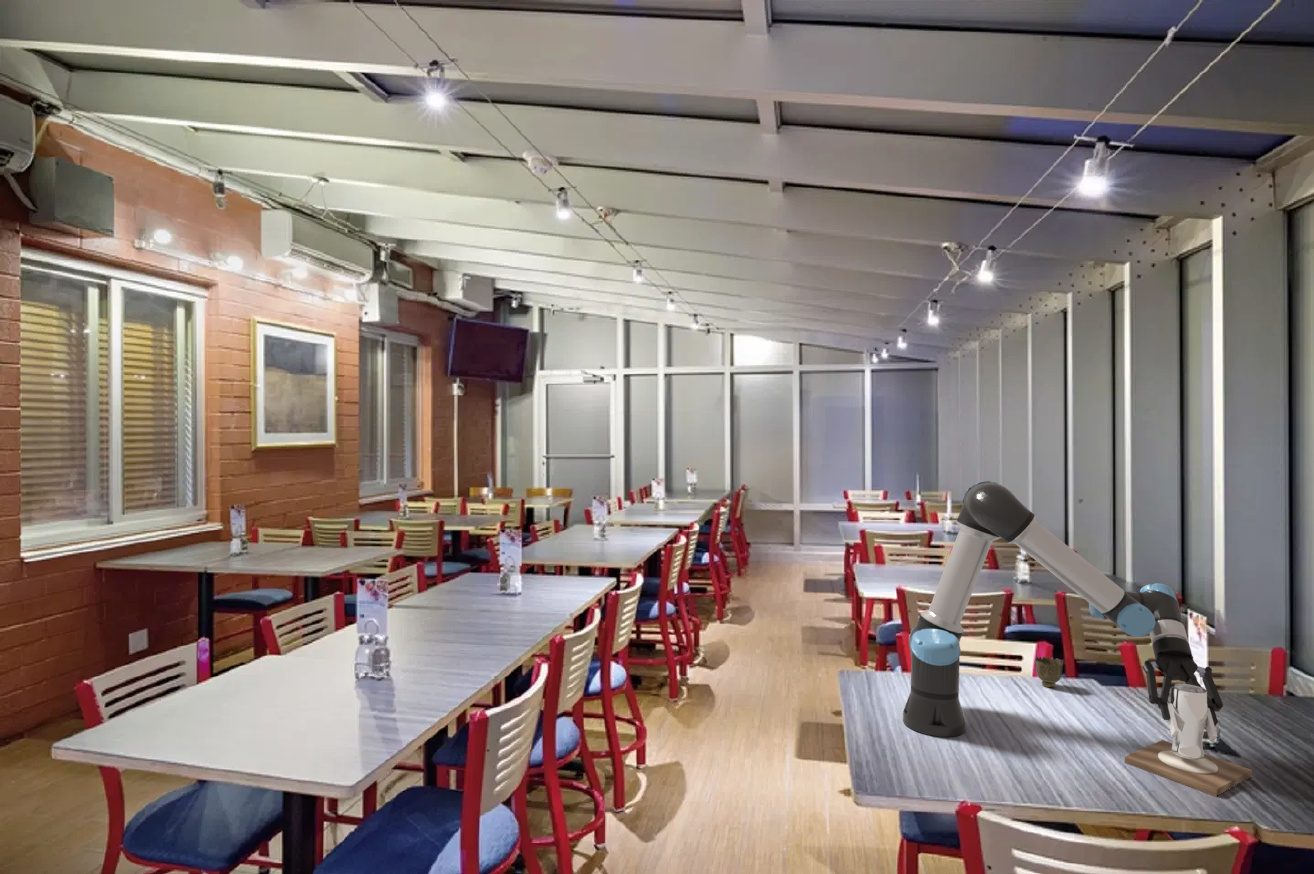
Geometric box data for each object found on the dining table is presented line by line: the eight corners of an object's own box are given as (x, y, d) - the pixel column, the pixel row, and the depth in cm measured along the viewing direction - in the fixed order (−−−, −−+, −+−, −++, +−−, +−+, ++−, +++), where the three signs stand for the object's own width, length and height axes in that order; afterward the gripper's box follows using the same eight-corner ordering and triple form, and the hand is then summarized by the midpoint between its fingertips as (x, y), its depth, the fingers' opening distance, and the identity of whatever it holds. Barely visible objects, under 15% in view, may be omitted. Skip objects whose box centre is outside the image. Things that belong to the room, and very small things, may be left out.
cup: (1066, 691, 215) (1067, 664, 215) (1039, 689, 216) (1039, 662, 216) (1057, 683, 222) (1058, 657, 222) (1031, 681, 223) (1032, 655, 223)
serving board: (1216, 796, 153) (1216, 787, 153) (1124, 762, 168) (1124, 754, 168) (1252, 776, 162) (1252, 768, 162) (1162, 746, 178) (1162, 738, 178)
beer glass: (1199, 749, 168) (1201, 685, 167) (1211, 762, 161) (1213, 695, 161) (1164, 745, 170) (1166, 681, 170) (1174, 757, 163) (1176, 691, 163)
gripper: (1212, 655, 177) (1241, 750, 161) (1120, 646, 183) (1139, 736, 168) (1222, 639, 172) (1252, 735, 156) (1127, 631, 178) (1147, 722, 162)
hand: (1194, 736), depth 162 cm, fingers closed on beer glass, 6 cm apart
